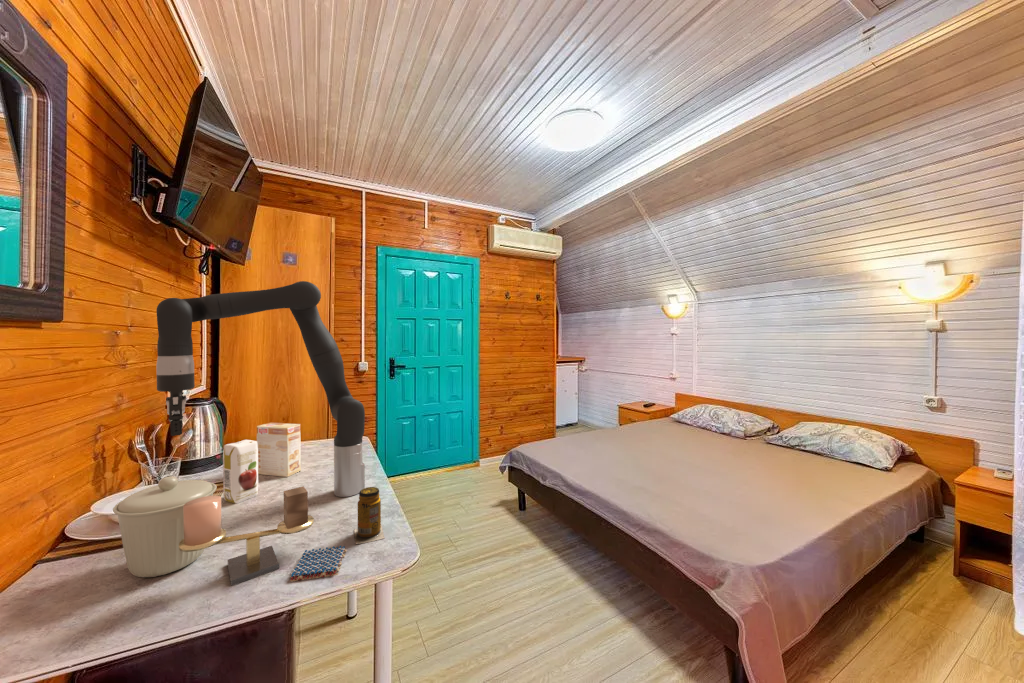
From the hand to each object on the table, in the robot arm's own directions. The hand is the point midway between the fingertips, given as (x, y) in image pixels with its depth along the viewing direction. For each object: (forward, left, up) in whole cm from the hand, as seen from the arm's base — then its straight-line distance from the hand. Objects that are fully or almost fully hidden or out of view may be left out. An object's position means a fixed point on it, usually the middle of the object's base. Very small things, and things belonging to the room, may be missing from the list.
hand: (176, 432), depth 99 cm
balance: (-14, +28, -29) cm, 43 cm away
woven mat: (-26, +38, -30) cm, 55 cm away
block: (-23, +28, -22) cm, 42 cm away
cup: (-5, +28, -19) cm, 34 cm away
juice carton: (-16, -20, -29) cm, 39 cm away
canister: (+1, +13, -29) cm, 32 cm away
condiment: (-40, +32, -29) cm, 59 cm away
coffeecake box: (-30, -39, -29) cm, 57 cm away
